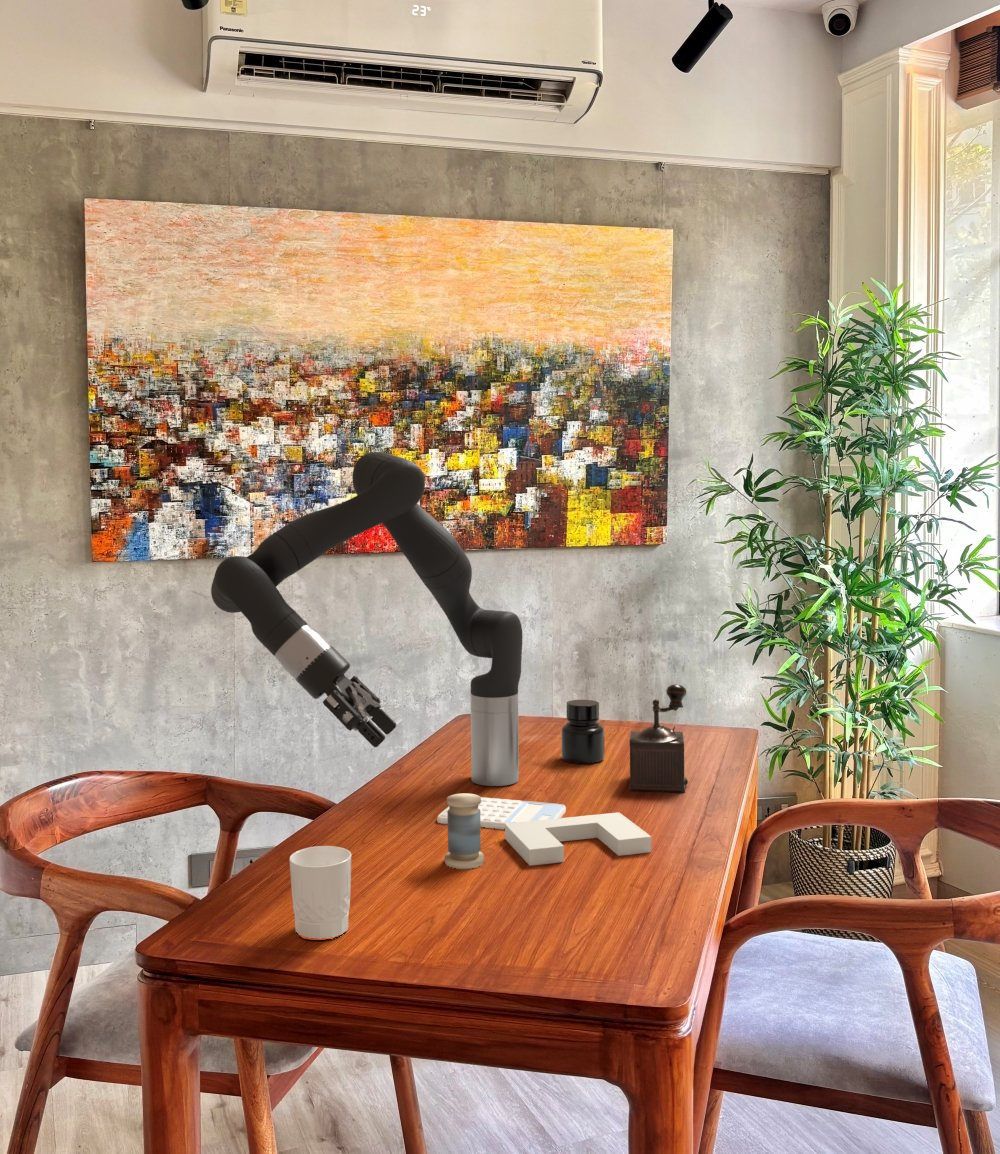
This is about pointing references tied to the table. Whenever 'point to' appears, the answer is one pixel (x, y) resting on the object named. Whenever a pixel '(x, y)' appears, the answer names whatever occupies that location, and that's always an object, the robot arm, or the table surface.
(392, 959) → the table surface
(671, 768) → the manual coffee grinder
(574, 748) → the ink bottle
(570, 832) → the notched board
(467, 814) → the disc
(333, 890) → the white cup
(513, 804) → the calculator
